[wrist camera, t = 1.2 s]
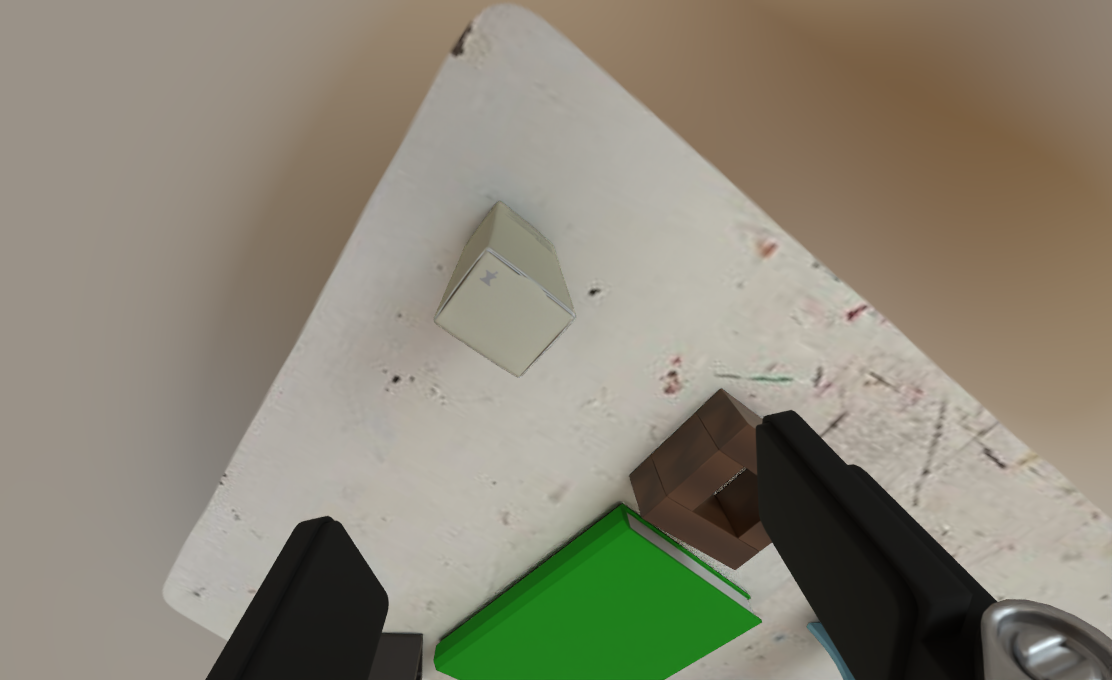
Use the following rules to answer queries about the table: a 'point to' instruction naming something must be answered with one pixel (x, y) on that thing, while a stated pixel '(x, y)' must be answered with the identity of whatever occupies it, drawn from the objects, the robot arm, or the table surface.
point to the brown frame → (707, 483)
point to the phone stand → (398, 657)
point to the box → (507, 293)
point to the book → (602, 612)
